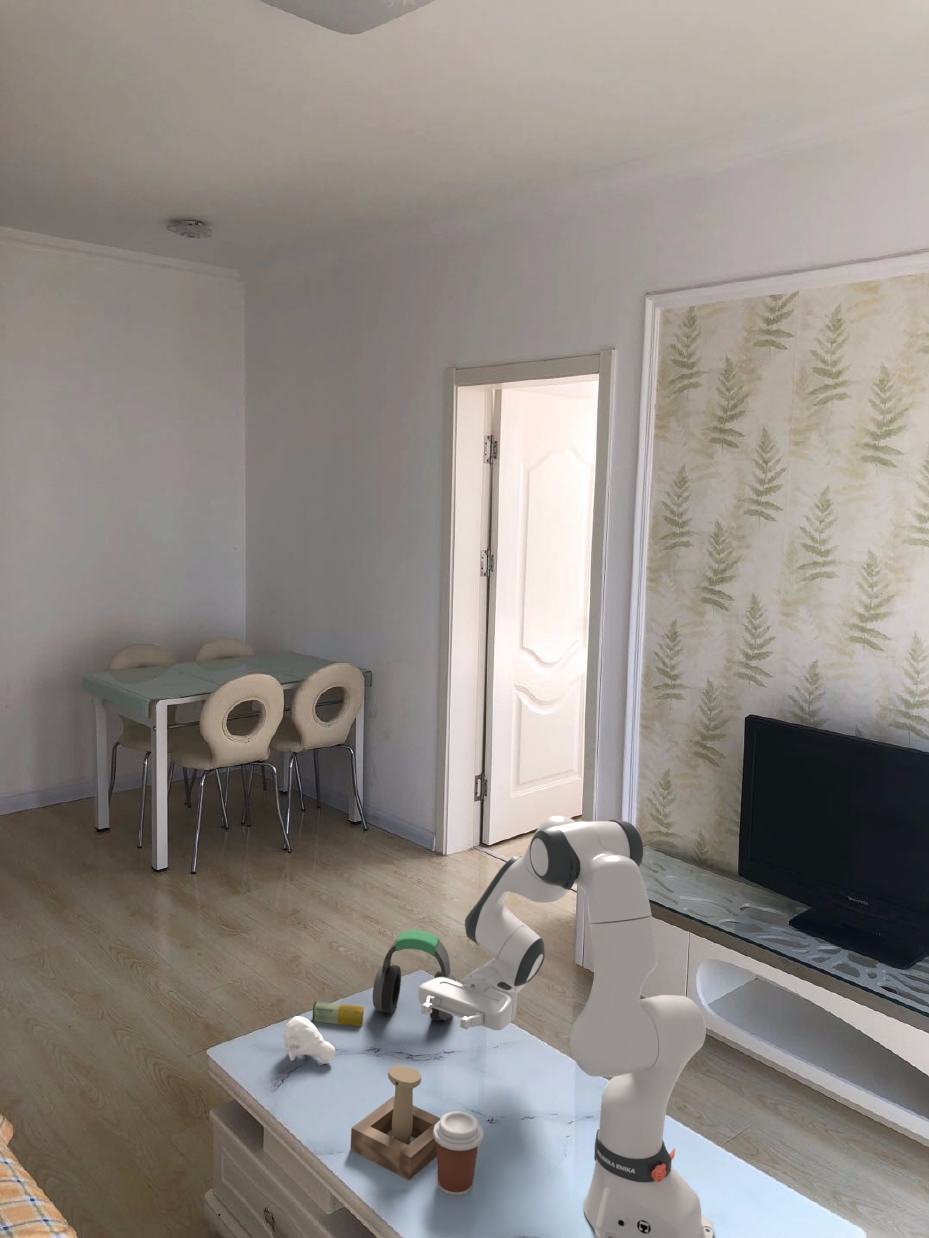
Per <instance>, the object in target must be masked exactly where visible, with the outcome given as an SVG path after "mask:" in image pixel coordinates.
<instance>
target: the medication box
mask: <svg viewBox="0 0 929 1238" xmlns="http://www.w3.org/2000/svg"><path fill="white" fill-rule="evenodd" d="M364 1019H365V1006H360V1005H352V1004H350V1005H349V1004H343V1003H342V1004H341V1003H335V1002H334V1003H333V1002H324V1001H317V1000H315V1001H314V1003H313V1005H312V1022H319V1023H327V1024H328V1023H329V1024H335V1025H336V1024H337V1025H345V1026H353V1027H355V1026H356V1027H363V1025H364Z"/></svg>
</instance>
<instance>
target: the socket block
mask: <svg viewBox="0 0 929 1238" xmlns="http://www.w3.org/2000/svg"><path fill="white" fill-rule="evenodd" d="M394 1098H395V1095H393V1096H392V1097H391V1098H389V1099H388V1100H386V1101H385V1102H384V1103H383V1104H381V1105H380V1106H379V1107H377V1108H376V1109H375V1110H373V1111H372V1112H370V1113H369V1114H368V1115H366V1116H365V1117H364V1118H362V1119H361V1120H360V1121H359V1122H357V1123H356V1124H355V1125H353V1126H351V1129H350V1131H351V1132H350V1133H351V1134H350V1147H349V1148H350V1149H349V1150H350V1151H352V1152H354V1153H356V1154H357V1155H360V1156H362V1157H364V1158H366V1159H368V1160H370V1161H371V1162H372V1163H374V1164H377V1165H379V1166H381V1167H382V1168H385V1169H386V1170H389V1171H391V1172H392V1173H394V1174H396V1175H398V1176H400V1177H401V1178H403V1179H406V1180H407V1181H410V1180H412V1179H413V1178H414V1177H415V1176H416V1175H417V1174H419V1173H420V1172H421V1171H422V1170H423V1169H425V1167H427V1166H428V1165H429V1164H430V1163H431V1162H432V1161H434V1159H437V1142H436V1141H435V1139H434V1136H433V1130H434V1126H435V1124H436V1123H437V1122H438V1121H439V1120H440V1118H441V1117H440V1116H437V1115H435V1114H432V1113H431V1112H428V1111H426V1110H424V1109H422V1108H419V1107H417V1106H416V1105H413V1126H412V1134H411V1138H413V1141H410V1144H409V1145H407V1144H405V1143H402V1142H400V1141H398V1140H396V1139H394V1138H392V1136H391V1135H389V1134H390V1133H391V1132H392V1115H393V1107H394Z"/></svg>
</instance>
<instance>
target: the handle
mask: <svg viewBox="0 0 929 1238" xmlns="http://www.w3.org/2000/svg"><path fill="white" fill-rule="evenodd" d="M387 1074H388V1075H387V1076H388V1080H389V1081H390V1083H391V1084H392V1085H393V1086H395V1088H394V1089H395V1090H394V1097H395V1098H394V1107H393V1115H392V1131H391V1137H392V1138H394V1139H396V1140H398V1141H400V1142H402V1143H405V1144H407V1145H409V1144H410V1143H411V1140H412V1139H411V1138H412V1136H411V1134H412V1126H413V1106H414V1104H413V1101H414V1100H413V1099H414V1095H413V1094H414V1093H413V1092H414V1089H415V1088H416V1087H418V1086H420V1085H421V1082H422V1074H421V1073H420V1072H419V1071H418V1070H417V1069H415V1068H413V1067H411V1066H407V1065H403V1064H397V1065H394V1066H392V1067H391V1068H389V1069H388V1073H387Z"/></svg>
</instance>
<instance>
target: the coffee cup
mask: <svg viewBox="0 0 929 1238" xmlns="http://www.w3.org/2000/svg"><path fill="white" fill-rule="evenodd" d="M439 1118H440V1120H439V1121H438V1122H437V1123H436V1124H435V1126H434V1130H433V1136H434V1139H435V1141H436V1142H437V1157H436V1161H437V1162H436V1165H437V1168H436V1169H437V1171H436V1173H437V1185H438V1188H439V1189H440V1191H442V1193H445V1194H446V1195H449V1196H456V1197H457V1196H463V1195H466V1194H468V1193H469V1192H470V1191H471V1190H472V1189H473V1184H474V1175H475V1171H476V1170H475V1169H476V1162H477V1155H478V1149H479V1145H480V1144H481V1143H482V1142H483V1139H484V1130H483V1128H482V1125H481V1124H479V1121H478V1120H477V1118H476V1117H475V1116H474V1115H472V1114H471V1113H469V1112H466V1111H459V1110H455V1111H454V1110H453V1111H449V1112H447V1113H444V1114H443V1115H442V1116H441V1117H439Z"/></svg>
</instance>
